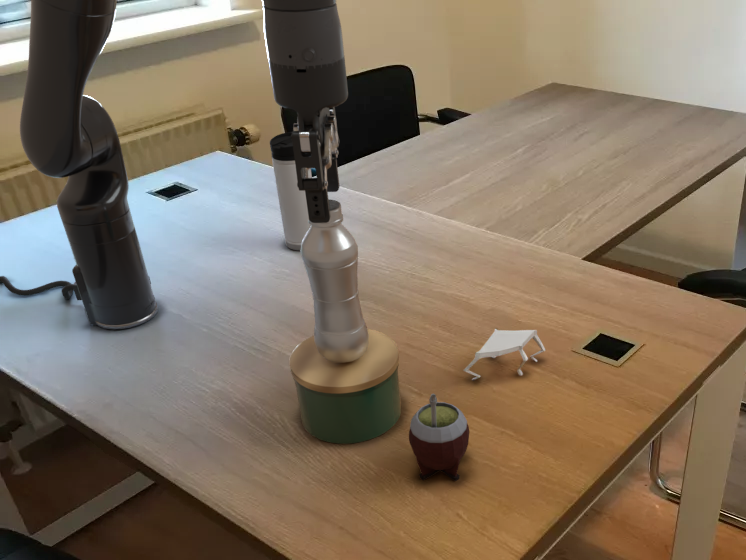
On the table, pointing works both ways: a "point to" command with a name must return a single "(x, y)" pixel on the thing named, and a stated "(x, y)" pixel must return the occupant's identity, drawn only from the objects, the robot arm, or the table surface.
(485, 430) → the table surface
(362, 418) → the crock
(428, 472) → the mate gourd
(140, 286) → the robot arm
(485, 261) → the table surface
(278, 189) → the travel mug
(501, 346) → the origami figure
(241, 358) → the table surface
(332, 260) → the silver metal bottle
